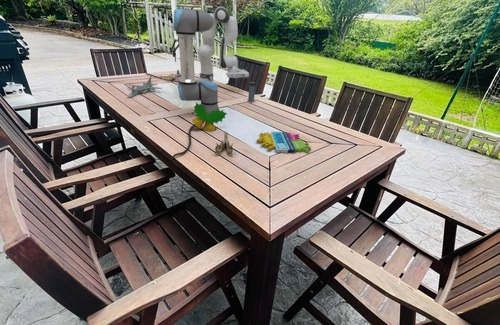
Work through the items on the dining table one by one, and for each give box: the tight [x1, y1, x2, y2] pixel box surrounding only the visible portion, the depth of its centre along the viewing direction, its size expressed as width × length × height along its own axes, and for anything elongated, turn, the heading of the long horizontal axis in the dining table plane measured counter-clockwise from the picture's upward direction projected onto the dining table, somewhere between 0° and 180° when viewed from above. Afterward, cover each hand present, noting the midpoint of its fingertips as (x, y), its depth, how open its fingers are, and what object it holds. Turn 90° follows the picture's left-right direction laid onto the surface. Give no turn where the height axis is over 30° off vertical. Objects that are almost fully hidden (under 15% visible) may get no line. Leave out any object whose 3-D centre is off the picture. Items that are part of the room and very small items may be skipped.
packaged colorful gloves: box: [256, 131, 312, 154], centre depth 152 cm, size 26×2×30 cm
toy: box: [159, 69, 181, 82], centre depth 278 cm, size 28×7×30 cm
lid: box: [248, 81, 257, 87], centre depth 216 cm, size 6×6×2 cm
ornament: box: [191, 101, 228, 132], centre depth 162 cm, size 21×8×15 cm, turn 105°
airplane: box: [127, 75, 162, 98], centre depth 225 cm, size 38×32×10 cm
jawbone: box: [214, 131, 234, 156], centre depth 136 cm, size 9×15×10 cm
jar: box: [247, 84, 256, 103], centre depth 219 cm, size 5×5×16 cm
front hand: (184, 61), depth 211 cm, fingers open, 13 cm apart
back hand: (240, 76), depth 230 cm, fingers open, 8 cm apart
